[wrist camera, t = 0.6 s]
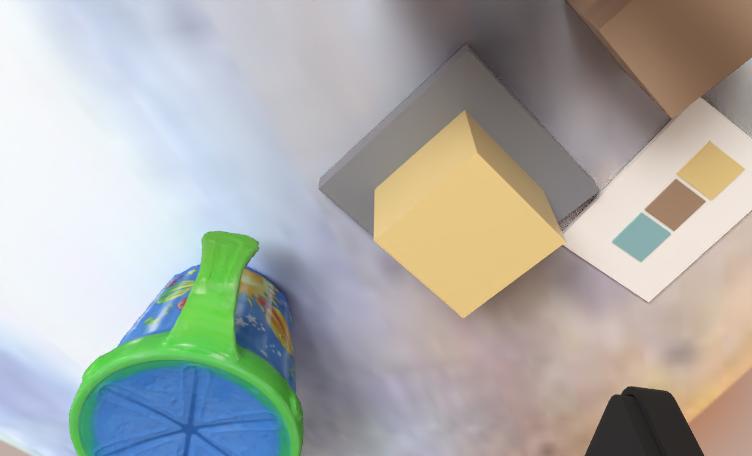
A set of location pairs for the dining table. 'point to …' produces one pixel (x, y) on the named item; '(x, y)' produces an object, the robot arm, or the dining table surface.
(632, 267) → the tile
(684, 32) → the walnut brick
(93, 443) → the snack cup
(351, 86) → the dining table surface
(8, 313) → the dining table surface
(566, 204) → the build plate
